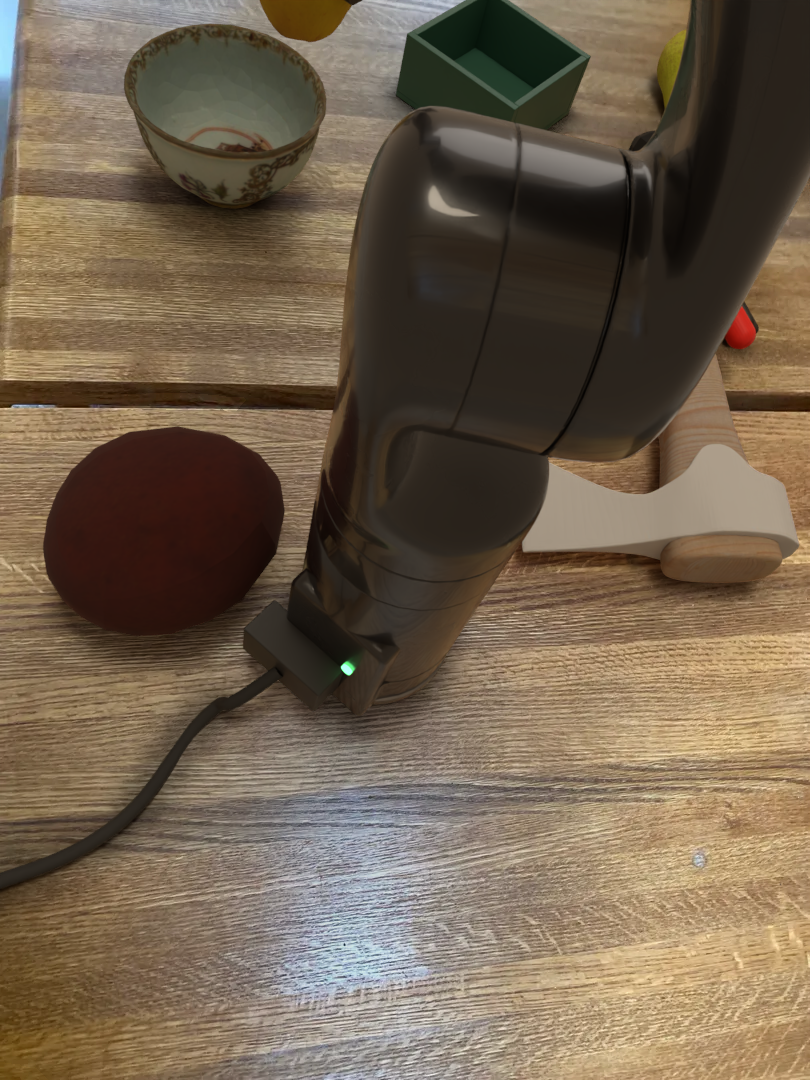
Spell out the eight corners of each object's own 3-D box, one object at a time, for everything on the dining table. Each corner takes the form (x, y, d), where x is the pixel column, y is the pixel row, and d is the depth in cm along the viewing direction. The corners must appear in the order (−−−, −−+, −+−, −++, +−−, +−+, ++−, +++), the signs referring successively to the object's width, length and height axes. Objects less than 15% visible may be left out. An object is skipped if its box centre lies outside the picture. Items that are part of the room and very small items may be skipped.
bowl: (334, 147, 69) (345, 54, 62) (295, 265, 63) (303, 176, 56) (167, 101, 68) (159, 1, 61) (110, 216, 62) (95, 119, 55)
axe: (731, 208, 66) (821, 554, 52) (705, 259, 71) (782, 590, 57) (502, 196, 65) (532, 547, 51) (491, 249, 70) (516, 584, 56)
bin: (495, 168, 72) (514, 109, 67) (395, 95, 74) (406, 33, 69) (568, 113, 77) (591, 56, 72) (472, 46, 79) (488, -14, 74)
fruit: (658, 18, 79) (627, 128, 76) (723, 3, 75) (693, 117, 73) (675, 65, 83) (647, 170, 81) (737, 53, 80) (709, 162, 78)
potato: (68, 659, 39) (99, 681, 49) (332, 548, 43) (311, 589, 52) (-20, 445, 40) (27, 508, 50) (241, 356, 44) (237, 431, 54)
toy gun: (646, 214, 61) (709, 170, 59) (699, 283, 71) (755, 248, 68) (701, 320, 57) (771, 278, 55) (749, 378, 67) (811, 344, 64)
